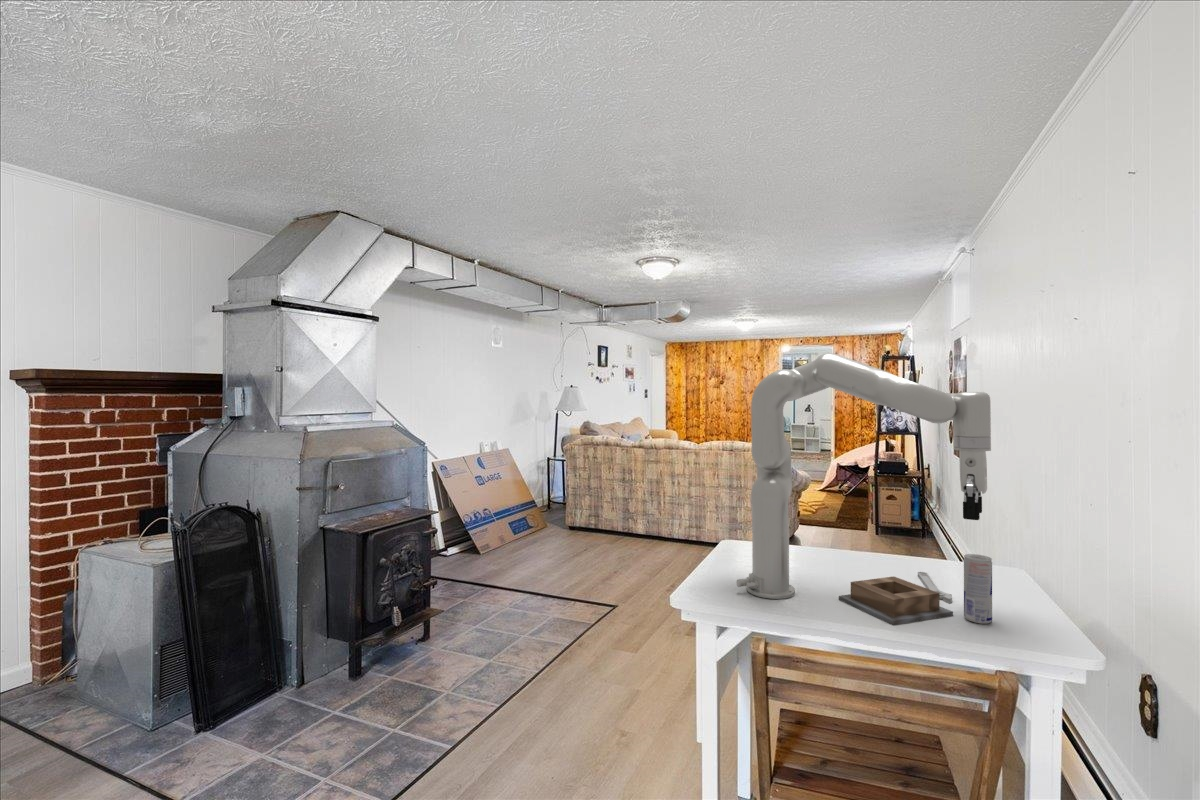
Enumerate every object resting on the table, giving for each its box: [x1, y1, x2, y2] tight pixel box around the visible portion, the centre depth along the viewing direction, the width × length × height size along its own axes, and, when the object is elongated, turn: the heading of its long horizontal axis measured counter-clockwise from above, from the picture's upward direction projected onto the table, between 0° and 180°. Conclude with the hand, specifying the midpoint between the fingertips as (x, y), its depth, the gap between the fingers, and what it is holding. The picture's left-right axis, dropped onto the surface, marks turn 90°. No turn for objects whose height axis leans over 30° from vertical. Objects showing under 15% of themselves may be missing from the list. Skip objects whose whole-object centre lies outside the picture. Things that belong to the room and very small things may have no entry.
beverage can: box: [963, 553, 993, 625], centre depth 139 cm, size 6×6×15 cm
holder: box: [838, 576, 954, 626], centre depth 147 cm, size 18×18×5 cm
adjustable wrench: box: [917, 571, 953, 604], centre depth 161 cm, size 25×6×2 cm, turn 157°
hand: (972, 515), depth 141 cm, fingers open, 9 cm apart
